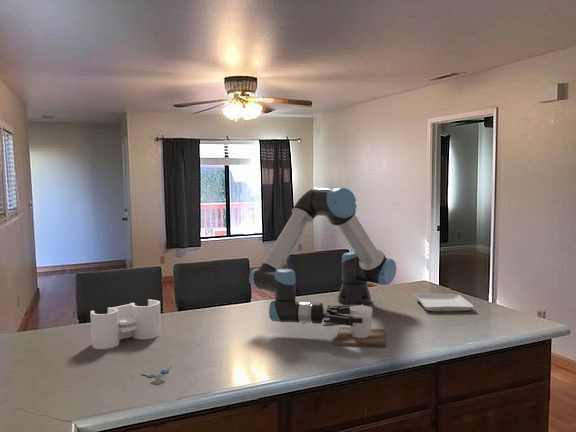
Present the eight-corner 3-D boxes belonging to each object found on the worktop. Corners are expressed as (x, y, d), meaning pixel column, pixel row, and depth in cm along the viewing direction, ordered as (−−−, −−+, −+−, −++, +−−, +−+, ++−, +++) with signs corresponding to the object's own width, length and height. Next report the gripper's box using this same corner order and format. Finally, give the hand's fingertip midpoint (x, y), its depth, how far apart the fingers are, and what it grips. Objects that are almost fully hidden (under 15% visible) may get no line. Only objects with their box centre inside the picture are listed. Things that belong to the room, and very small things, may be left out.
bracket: (98, 351, 165) (97, 316, 164) (88, 344, 172) (86, 311, 171) (166, 335, 181) (165, 303, 180) (154, 329, 189) (153, 298, 188)
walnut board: (339, 329, 186) (339, 326, 186) (384, 331, 182) (384, 329, 182) (335, 344, 169) (335, 342, 169) (385, 347, 166) (385, 344, 166)
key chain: (164, 386, 138) (164, 383, 138) (134, 387, 137) (134, 384, 137) (172, 367, 152) (172, 364, 152) (145, 368, 151) (145, 365, 151)
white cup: (358, 340, 170) (358, 312, 170) (345, 333, 177) (345, 306, 177) (376, 336, 174) (376, 309, 173) (363, 330, 181) (363, 304, 180)
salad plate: (475, 313, 206) (475, 305, 205) (424, 314, 206) (425, 306, 206) (458, 300, 227) (458, 293, 226) (412, 300, 227) (412, 293, 227)
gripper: (315, 313, 190) (372, 316, 186) (306, 333, 167) (371, 336, 163) (315, 294, 189) (372, 297, 185) (306, 311, 167) (371, 314, 162)
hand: (372, 315), depth 174 cm, fingers open, 11 cm apart
